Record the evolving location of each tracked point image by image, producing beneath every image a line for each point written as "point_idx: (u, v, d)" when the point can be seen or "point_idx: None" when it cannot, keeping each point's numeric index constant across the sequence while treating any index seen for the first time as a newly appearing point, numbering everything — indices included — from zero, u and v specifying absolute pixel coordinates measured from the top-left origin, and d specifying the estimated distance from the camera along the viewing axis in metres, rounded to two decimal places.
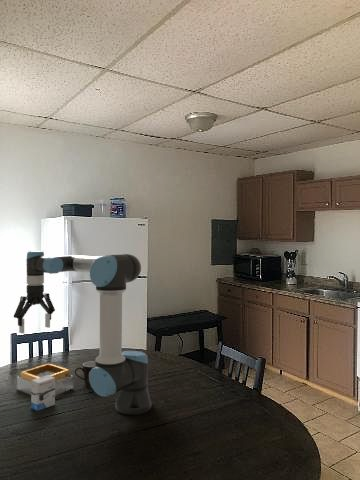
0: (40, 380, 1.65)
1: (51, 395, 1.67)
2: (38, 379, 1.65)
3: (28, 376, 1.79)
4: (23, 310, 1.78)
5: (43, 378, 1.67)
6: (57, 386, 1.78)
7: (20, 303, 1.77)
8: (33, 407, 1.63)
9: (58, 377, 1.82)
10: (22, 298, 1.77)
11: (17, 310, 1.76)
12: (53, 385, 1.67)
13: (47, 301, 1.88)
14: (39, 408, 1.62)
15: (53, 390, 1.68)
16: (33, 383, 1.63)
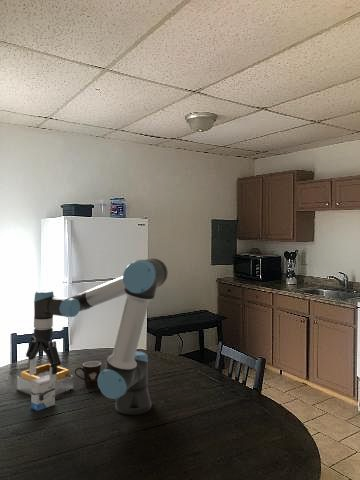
0: (40, 380, 1.65)
1: (51, 395, 1.67)
2: (38, 379, 1.65)
3: (28, 376, 1.79)
4: None
5: (43, 378, 1.67)
6: (57, 386, 1.78)
7: None
8: (33, 407, 1.63)
9: (58, 377, 1.82)
10: None
11: None
12: (53, 385, 1.67)
13: None
14: (39, 408, 1.62)
15: (53, 390, 1.68)
16: (33, 383, 1.63)
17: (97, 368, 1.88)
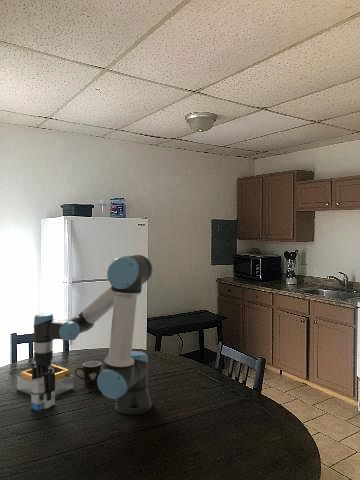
0: (40, 380, 1.65)
1: (51, 395, 1.67)
2: (38, 379, 1.65)
3: (28, 376, 1.79)
4: None
5: (43, 378, 1.67)
6: (57, 386, 1.78)
7: None
8: (33, 407, 1.63)
9: (58, 377, 1.82)
10: None
11: None
12: None
13: None
14: (39, 408, 1.62)
15: None
16: (33, 383, 1.63)
17: (97, 368, 1.88)
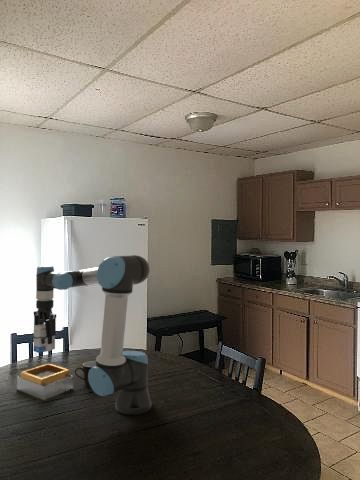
0: (42, 326, 1.80)
1: (52, 340, 1.83)
2: (40, 325, 1.81)
3: (28, 376, 1.79)
4: None
5: (44, 324, 1.83)
6: (57, 386, 1.78)
7: None
8: (35, 350, 1.79)
9: (58, 377, 1.82)
10: None
11: None
12: None
13: None
14: (41, 351, 1.78)
15: None
16: (35, 328, 1.79)
17: None
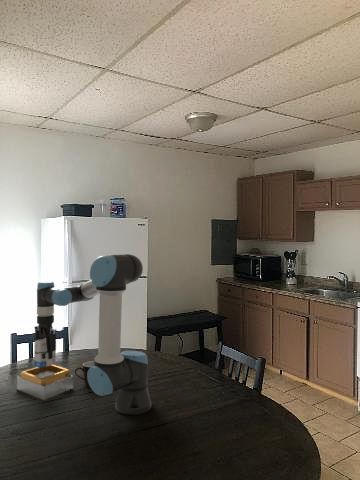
0: (42, 341, 1.83)
1: None
2: (40, 340, 1.84)
3: (28, 376, 1.79)
4: None
5: (45, 339, 1.85)
6: (57, 386, 1.78)
7: None
8: (36, 365, 1.82)
9: (58, 377, 1.82)
10: None
11: None
12: None
13: None
14: (41, 365, 1.81)
15: None
16: (36, 343, 1.82)
17: None
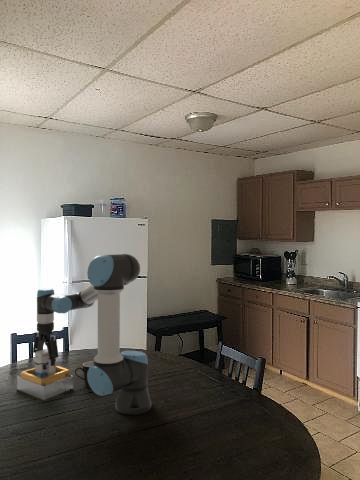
0: (43, 352, 1.83)
1: None
2: (41, 351, 1.83)
3: (28, 376, 1.79)
4: None
5: (45, 350, 1.85)
6: (57, 386, 1.78)
7: None
8: (37, 376, 1.81)
9: (58, 377, 1.82)
10: None
11: None
12: None
13: None
14: (42, 377, 1.80)
15: None
16: (37, 354, 1.81)
17: None
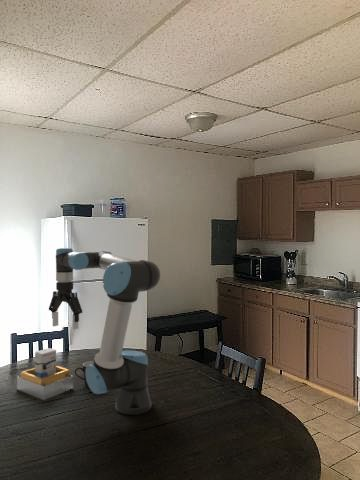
0: (43, 352, 1.83)
1: (53, 366, 1.85)
2: (41, 351, 1.83)
3: (28, 376, 1.79)
4: None
5: (45, 350, 1.85)
6: (57, 386, 1.78)
7: None
8: (37, 376, 1.81)
9: (58, 377, 1.82)
10: None
11: None
12: (54, 356, 1.86)
13: None
14: (42, 377, 1.80)
15: (54, 361, 1.86)
16: (37, 354, 1.81)
17: None
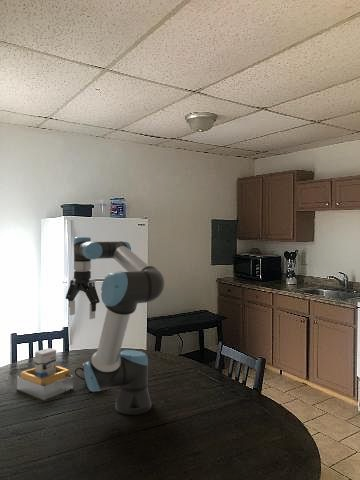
0: (43, 352, 1.83)
1: (53, 366, 1.85)
2: (41, 351, 1.83)
3: (28, 376, 1.79)
4: None
5: (45, 350, 1.85)
6: (57, 386, 1.78)
7: None
8: (37, 376, 1.81)
9: (58, 377, 1.82)
10: None
11: None
12: (54, 356, 1.86)
13: None
14: (42, 377, 1.80)
15: (54, 361, 1.86)
16: (37, 354, 1.81)
17: None
